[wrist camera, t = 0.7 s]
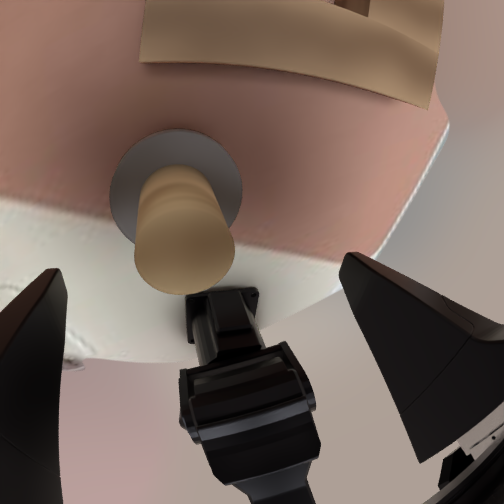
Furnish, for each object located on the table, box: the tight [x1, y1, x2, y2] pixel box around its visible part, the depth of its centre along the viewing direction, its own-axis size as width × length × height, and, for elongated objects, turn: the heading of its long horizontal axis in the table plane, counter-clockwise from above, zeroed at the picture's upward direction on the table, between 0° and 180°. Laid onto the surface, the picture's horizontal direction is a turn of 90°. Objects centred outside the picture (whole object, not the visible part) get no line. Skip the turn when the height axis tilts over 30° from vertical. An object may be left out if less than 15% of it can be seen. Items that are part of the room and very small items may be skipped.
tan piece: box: [109, 129, 242, 295], centre depth 14 cm, size 7×7×10 cm
